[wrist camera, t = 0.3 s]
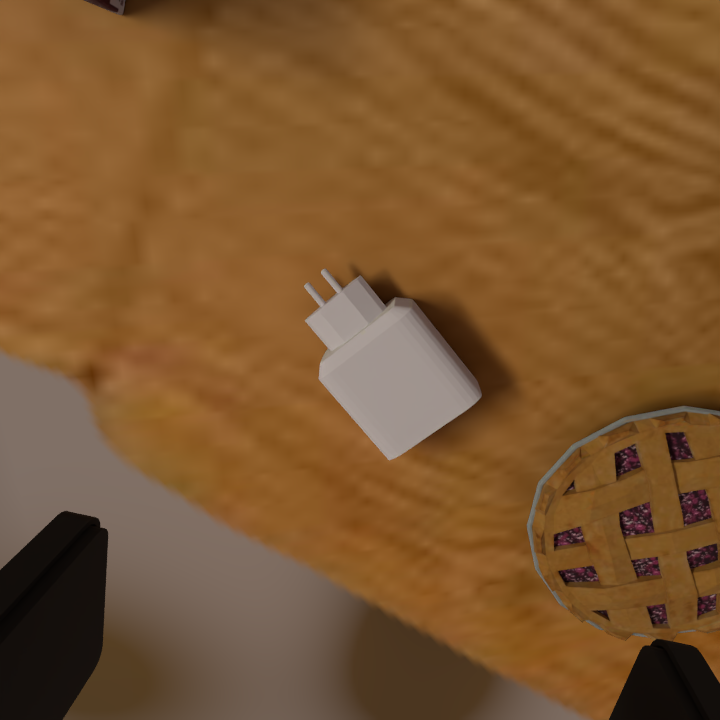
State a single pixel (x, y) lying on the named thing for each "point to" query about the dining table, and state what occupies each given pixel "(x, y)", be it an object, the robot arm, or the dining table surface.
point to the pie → (635, 525)
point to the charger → (389, 366)
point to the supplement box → (110, 5)
